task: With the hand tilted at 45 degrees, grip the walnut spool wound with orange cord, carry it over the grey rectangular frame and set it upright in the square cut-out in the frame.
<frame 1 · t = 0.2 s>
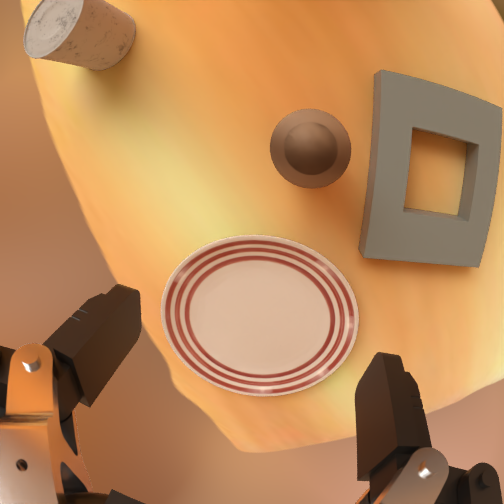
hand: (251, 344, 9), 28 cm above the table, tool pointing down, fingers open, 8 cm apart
speckled tan cylinder: (107, 40, 30), on the table
grey rectangular frame: (433, 173, 32), on the table
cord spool: (304, 146, 33), on the table
dinner plate: (259, 319, 43), on the table
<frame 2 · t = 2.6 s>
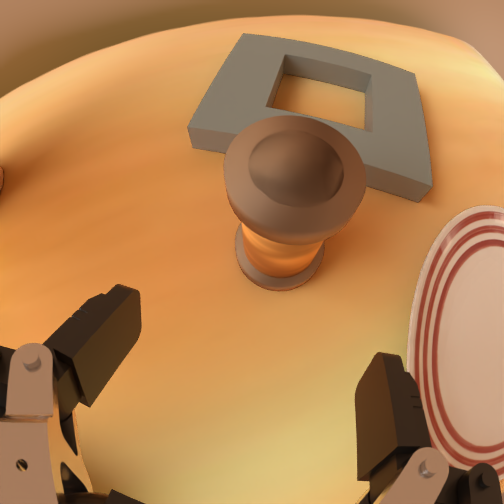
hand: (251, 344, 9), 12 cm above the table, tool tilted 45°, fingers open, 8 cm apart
grey rectangular frame: (320, 107, 29), on the table
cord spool: (278, 249, 24), on the table
dinner plate: (499, 346, 20), on the table
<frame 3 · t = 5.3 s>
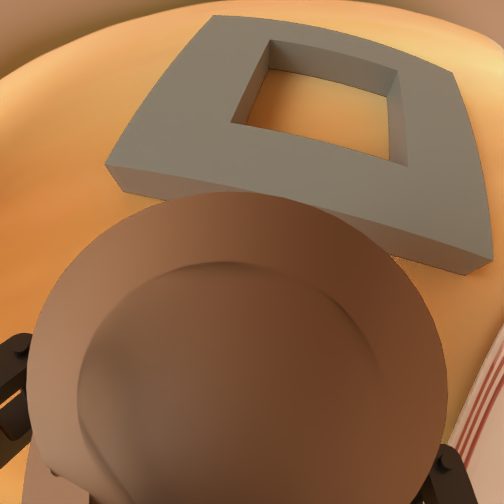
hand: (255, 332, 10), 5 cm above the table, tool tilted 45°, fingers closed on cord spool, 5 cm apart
grey rectangular frame: (322, 118, 19), on the table
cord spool: (245, 374, 14), on the table, touching gripper
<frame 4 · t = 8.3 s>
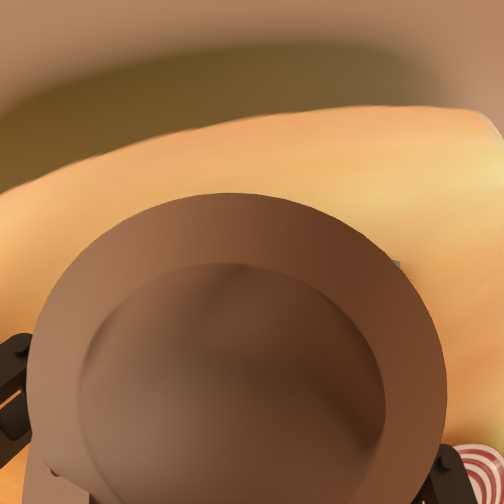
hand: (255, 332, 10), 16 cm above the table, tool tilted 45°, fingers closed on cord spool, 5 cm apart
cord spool: (245, 374, 14), point 11 cm above the table, touching gripper
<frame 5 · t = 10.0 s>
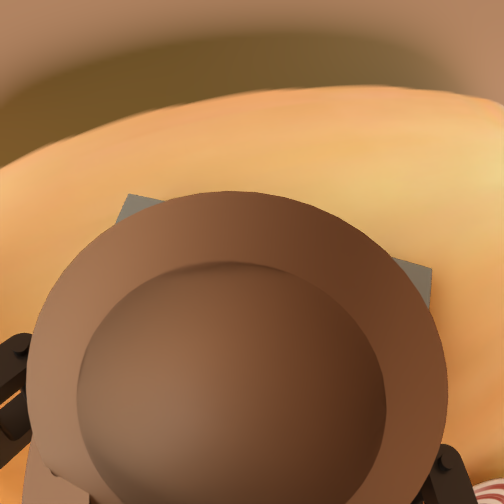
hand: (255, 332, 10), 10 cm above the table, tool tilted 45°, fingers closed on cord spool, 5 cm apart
grey rectangular frame: (245, 368, 19), on the table
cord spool: (245, 374, 14), point 6 cm above the table, touching gripper
when the fingers open (7 cm above the table, at t = 11.3 s): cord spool drops 1 cm, point 1 cm above the table.
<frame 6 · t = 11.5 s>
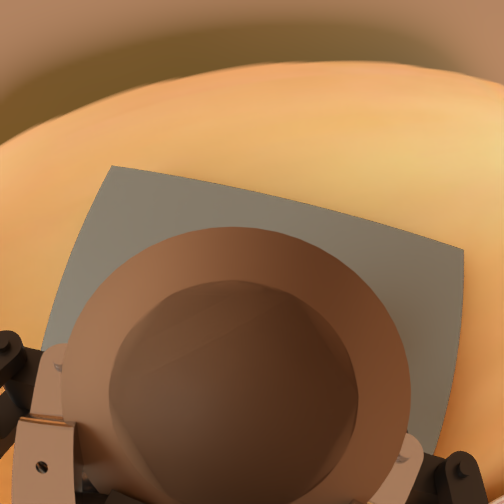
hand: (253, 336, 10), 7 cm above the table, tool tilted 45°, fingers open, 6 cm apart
grey rectangular frame: (246, 371, 16), on the table
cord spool: (240, 389, 14), point 1 cm above the table, tilted 6°, touching gripper
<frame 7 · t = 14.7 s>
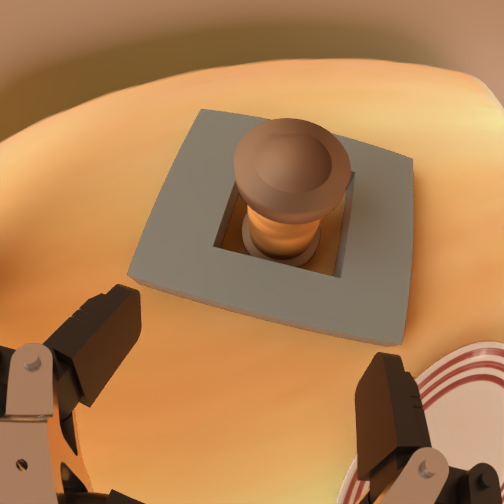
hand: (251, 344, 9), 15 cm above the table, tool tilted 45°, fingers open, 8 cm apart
grey rectangular frame: (287, 221, 27), on the table
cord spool: (280, 236, 26), resting in grey rectangular frame
dinner plate: (450, 470, 18), on the table
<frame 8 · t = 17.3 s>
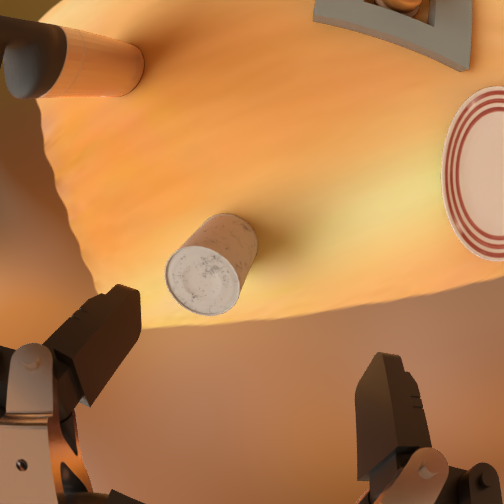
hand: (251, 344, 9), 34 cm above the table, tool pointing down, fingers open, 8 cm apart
speckled tan cylinder: (227, 242, 46), on the table
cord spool: (395, 1, 26), resting in grey rectangular frame
dinner plate: (501, 173, 33), on the table
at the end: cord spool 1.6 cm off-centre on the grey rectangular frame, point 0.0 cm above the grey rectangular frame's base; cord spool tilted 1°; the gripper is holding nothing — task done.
